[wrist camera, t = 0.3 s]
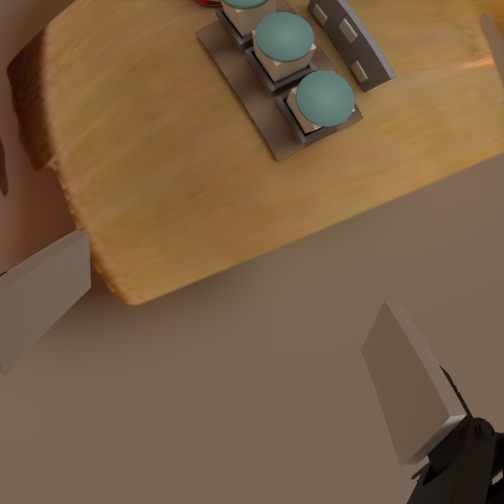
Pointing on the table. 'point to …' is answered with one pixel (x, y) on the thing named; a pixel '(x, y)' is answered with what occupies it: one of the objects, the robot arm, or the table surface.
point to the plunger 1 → (247, 14)
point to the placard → (352, 42)
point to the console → (266, 85)
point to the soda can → (209, 2)
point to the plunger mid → (283, 45)
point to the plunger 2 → (321, 101)
